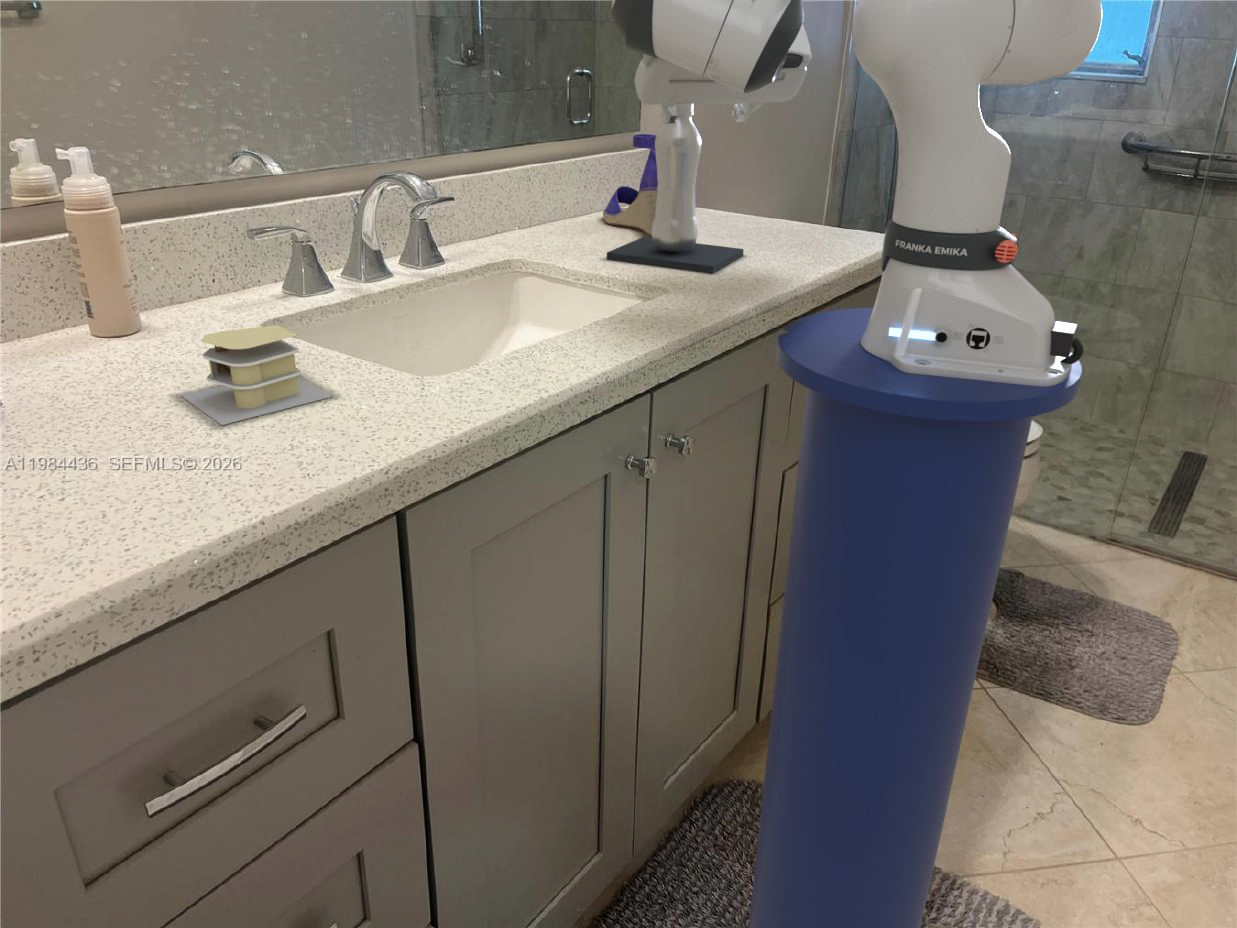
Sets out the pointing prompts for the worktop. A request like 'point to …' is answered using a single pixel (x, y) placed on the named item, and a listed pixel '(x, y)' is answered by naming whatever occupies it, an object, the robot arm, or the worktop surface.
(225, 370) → the stacked layers on plate
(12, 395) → the worktop surface
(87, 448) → the worktop surface
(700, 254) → the dark rectangular flat slab
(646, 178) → the sandal
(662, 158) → the plastic bottle
